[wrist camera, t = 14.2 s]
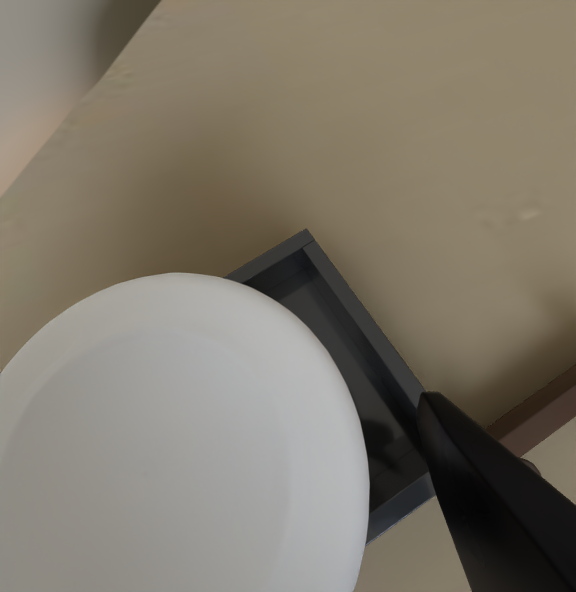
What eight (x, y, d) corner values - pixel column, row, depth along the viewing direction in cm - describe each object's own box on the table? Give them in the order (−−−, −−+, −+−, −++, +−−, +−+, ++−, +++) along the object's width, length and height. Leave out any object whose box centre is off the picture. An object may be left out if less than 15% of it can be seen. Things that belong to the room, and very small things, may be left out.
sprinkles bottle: (332, 439, 15) (466, 755, 2) (245, 460, 15) (-146, 906, 2) (310, 350, 16) (308, 220, 4) (229, 370, 16) (-64, 311, 4)
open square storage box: (442, 446, 15) (479, 464, 12) (244, 586, 14) (223, 650, 11) (307, 256, 19) (306, 227, 15) (141, 356, 17) (101, 348, 14)
